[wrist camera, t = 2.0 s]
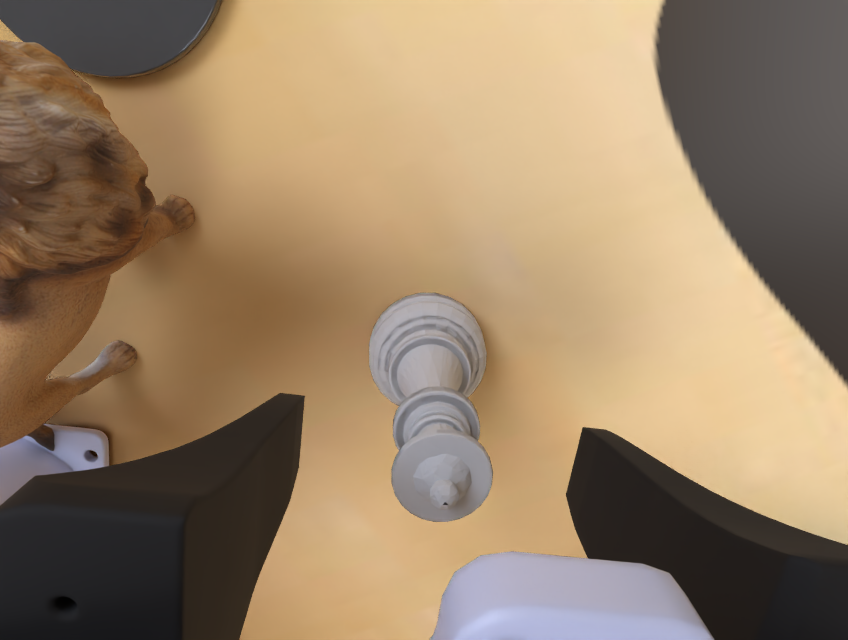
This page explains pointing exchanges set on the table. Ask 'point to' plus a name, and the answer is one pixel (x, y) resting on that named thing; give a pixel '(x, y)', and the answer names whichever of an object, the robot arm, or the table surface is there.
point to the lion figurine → (62, 232)
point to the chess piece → (433, 404)
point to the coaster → (112, 31)
